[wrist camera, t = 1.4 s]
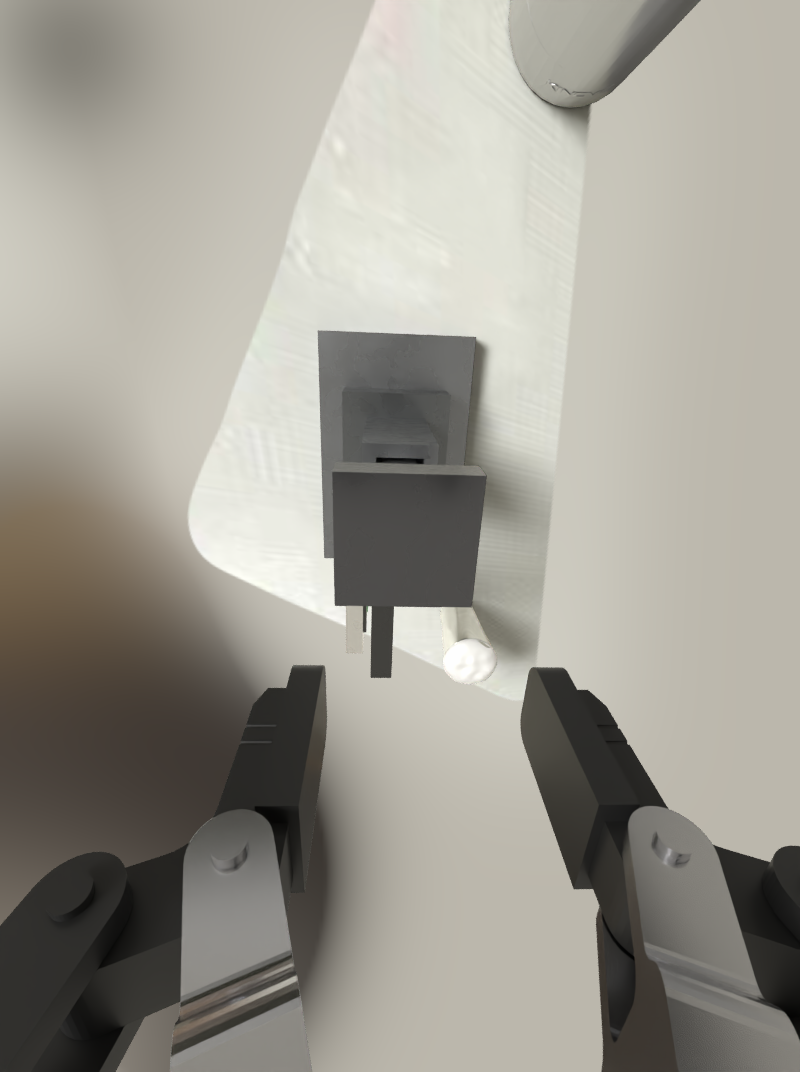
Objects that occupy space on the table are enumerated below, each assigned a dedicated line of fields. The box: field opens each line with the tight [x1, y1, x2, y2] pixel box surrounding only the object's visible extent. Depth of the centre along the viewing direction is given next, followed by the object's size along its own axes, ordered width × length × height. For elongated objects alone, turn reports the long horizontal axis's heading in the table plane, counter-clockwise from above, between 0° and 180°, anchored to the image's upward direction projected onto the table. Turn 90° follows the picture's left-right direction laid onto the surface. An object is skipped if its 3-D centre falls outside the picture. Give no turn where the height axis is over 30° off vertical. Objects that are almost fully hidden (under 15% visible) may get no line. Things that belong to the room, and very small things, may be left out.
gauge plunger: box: [332, 457, 487, 678], centre depth 25 cm, size 10×6×12 cm, turn 178°
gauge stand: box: [318, 331, 476, 653], centre depth 33 cm, size 19×12×16 cm, turn 178°
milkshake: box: [440, 607, 497, 684], centre depth 42 cm, size 4×5×10 cm
